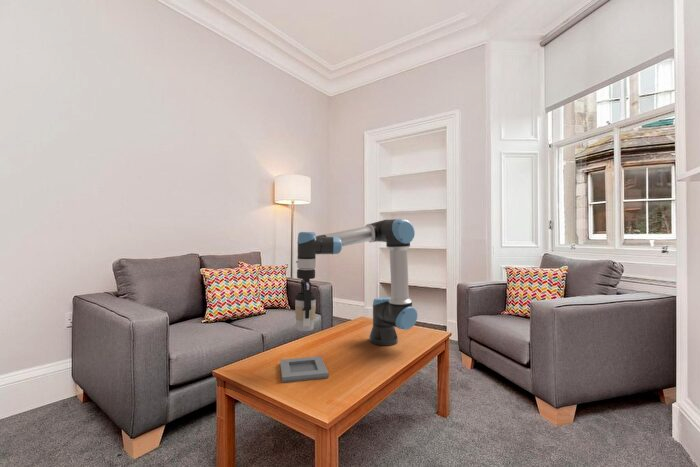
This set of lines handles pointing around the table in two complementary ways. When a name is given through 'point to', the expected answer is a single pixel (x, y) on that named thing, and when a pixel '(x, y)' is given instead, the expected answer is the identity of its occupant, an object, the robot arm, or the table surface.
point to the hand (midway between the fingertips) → (305, 323)
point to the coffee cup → (299, 313)
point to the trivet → (303, 369)
